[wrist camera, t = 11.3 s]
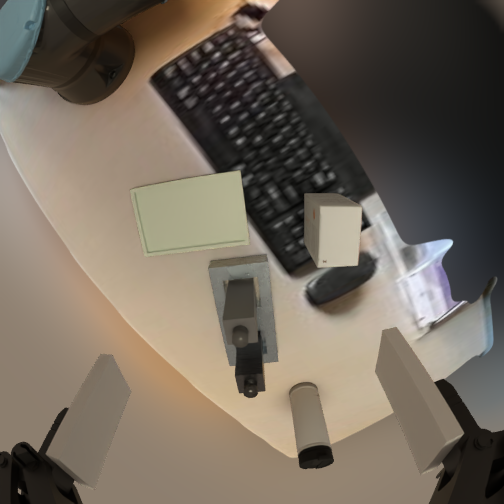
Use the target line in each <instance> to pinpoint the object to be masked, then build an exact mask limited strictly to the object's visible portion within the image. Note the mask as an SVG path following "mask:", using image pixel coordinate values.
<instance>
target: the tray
mask: <svg viewBox="0 0 504 504" xmlns="http://www.w3.org/2000/svg"><path fill="white" fill-rule="evenodd" d="M130 193H131V198H132V203H133V208H134V213H135V218H136V222H137V227H138V231H139V236H140V240H141V244H142V248H143V252H144V256H145V257H152V256H159V255H167V254H176V253H184V252H192V251H200V250H208V249H216V248H225V247H233V246H241V245H250V239H249V231H248V224H247V216H246V209H245V201H244V193H243V186H242V178H241V171H240V170H238V171H231V172H223V173H217V174H210V175H203V176H197V177H191V178H185V179H180V180H174V181H168V182H163V183H158V184H153V185H148V186H143V187H138V188H133V189H131V190H130Z"/></svg>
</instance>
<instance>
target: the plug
mask: <svg viewBox="0 0 504 504" xmlns="http://www.w3.org/2000/svg"><path fill="white" fill-rule="evenodd" d="M222 322H223V326H224V331H225V335H226V340H227V344H228V345H234V346H236V347H239V348H242V347H245V346H246V345H247V344H248V343H256V342H258V328H257V303H256V292H255V284H254V277H253V278H244V279H235V280H228V286H227V292H226V299H225V305H224V312H223V319H222Z"/></svg>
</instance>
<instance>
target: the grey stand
mask: <svg viewBox="0 0 504 504" xmlns="http://www.w3.org/2000/svg"><path fill="white" fill-rule="evenodd" d="M208 269H209V274H210V279H211V284H212V289H213V294H214V298H215V303H216V308H217V312H218V317H219V322H220V326H221V331H222V335H223V340H224V344H225V348H226V353H227V357H228V361H229V365H230V366H236V367H235V378H236V382H237V386H238V390H239V393H244V396H246V397H248V398H253V397H256V396H257V394H258V392H261V391H265V375H264V363H270V362H278V353H277V343H276V333H275V323H274V314H273V304H272V294H271V285H270V276H269V267H268V259H267V255H258V256H250V257H241V258H233V259H224V260H215V261H211V262H210V265H209V268H208ZM253 277H254V284H255V292H256V303H257V328H258V342H256V343H248V344H247V345H246V346H245V347H242V348H239V347H236V346H234V345H228V344H227V340H226V335H225V331H224V326H223V322H222V319H223V312H224V305H225V299H226V292H227V286H228V280H235V279H244V278H253Z"/></svg>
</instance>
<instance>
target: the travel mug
mask: <svg viewBox="0 0 504 504" xmlns="http://www.w3.org/2000/svg"><path fill="white" fill-rule="evenodd" d="M290 402H291V409H292V416H293V423H294V430H295V438H296V445H297V452H298V458H299V466H300V468H303V469H307V468H316V469H317V468H323V467H326V466H328V465H330V464H332V463H333V462H334V459H333V455H332V450H331V444H330V440H329V436H328V431H327V427H326V423H325V419H324V414H323V410H322V406H321V402H320V398H319V394H318V390H317V387H316V386H315V385H314V384H312V383H301V384H298V385H296V386H294V387H293V388H292V389H291V390H290Z"/></svg>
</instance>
